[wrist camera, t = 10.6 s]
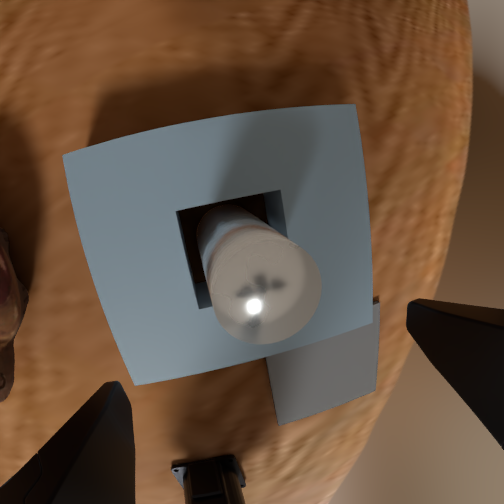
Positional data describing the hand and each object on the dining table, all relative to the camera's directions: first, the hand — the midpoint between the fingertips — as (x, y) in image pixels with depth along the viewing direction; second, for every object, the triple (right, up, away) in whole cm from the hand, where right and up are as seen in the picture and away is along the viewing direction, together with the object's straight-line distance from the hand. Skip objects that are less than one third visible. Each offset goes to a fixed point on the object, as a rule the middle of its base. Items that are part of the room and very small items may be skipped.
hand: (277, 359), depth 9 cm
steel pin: (-2, +4, +12) cm, 13 cm away
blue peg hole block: (-2, +4, +12) cm, 13 cm away
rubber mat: (+6, -7, +17) cm, 19 cm away
